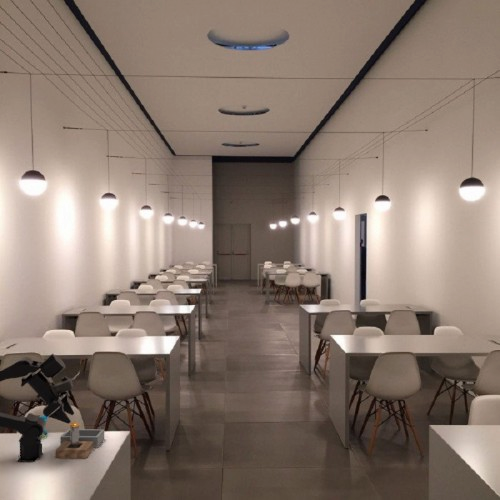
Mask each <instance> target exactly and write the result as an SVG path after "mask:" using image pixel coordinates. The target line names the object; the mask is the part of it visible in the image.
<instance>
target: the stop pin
mask: <svg viewBox="0 0 500 500" xmlns="http://www.w3.org/2000/svg"><path fill="white" fill-rule="evenodd" d="M69 428H70V448H79V429H80V422H78V421H72V422H70V423H69Z"/></svg>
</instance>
